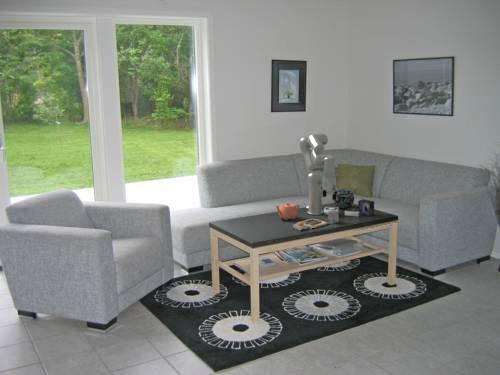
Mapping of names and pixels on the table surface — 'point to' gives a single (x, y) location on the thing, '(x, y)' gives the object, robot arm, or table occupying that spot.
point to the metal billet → (333, 216)
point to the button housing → (300, 227)
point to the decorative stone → (344, 198)
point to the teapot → (288, 211)
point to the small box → (366, 207)
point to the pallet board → (314, 223)
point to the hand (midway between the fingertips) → (329, 198)
